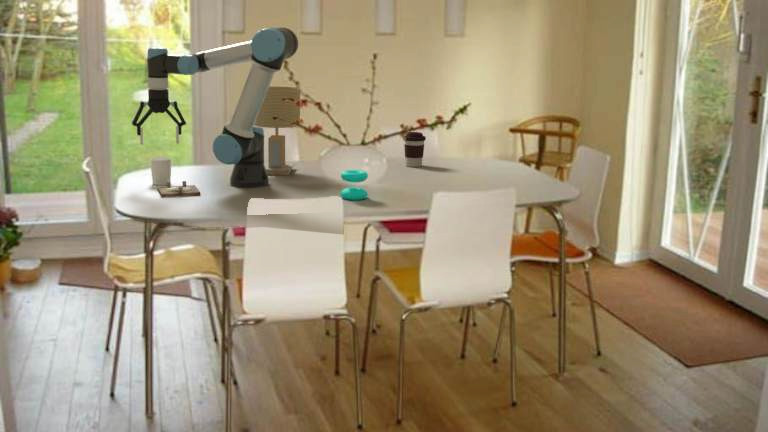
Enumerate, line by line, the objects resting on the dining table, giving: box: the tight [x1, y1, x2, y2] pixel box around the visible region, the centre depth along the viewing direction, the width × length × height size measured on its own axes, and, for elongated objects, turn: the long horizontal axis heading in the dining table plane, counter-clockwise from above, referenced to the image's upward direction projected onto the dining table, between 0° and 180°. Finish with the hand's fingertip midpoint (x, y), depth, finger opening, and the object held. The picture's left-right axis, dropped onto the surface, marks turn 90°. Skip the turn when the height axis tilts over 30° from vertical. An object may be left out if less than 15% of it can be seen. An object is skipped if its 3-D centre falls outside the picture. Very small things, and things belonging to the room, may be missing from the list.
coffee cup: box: [403, 131, 426, 168], centre depth 405 cm, size 10×10×15 cm
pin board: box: [156, 180, 201, 198], centre depth 338 cm, size 14×14×3 cm
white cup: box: [150, 156, 172, 186], centre depth 353 cm, size 8×8×10 cm
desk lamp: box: [254, 86, 301, 176], centre depth 381 cm, size 20×20×35 cm
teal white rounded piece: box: [340, 169, 369, 201], centre depth 336 cm, size 10×10×10 cm
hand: (159, 143), depth 351 cm, fingers open, 13 cm apart
